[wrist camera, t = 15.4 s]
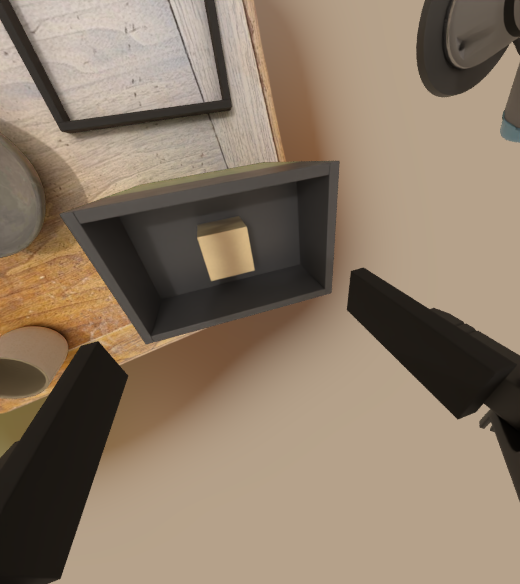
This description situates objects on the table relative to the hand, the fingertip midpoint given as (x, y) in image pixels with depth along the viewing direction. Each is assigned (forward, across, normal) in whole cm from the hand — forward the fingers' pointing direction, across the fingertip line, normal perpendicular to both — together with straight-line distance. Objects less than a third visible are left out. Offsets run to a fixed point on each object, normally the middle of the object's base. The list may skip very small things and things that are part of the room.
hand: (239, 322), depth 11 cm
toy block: (+20, +1, -2) cm, 20 cm away
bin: (+20, +1, -2) cm, 21 cm away
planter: (+39, -47, -21) cm, 64 cm away
